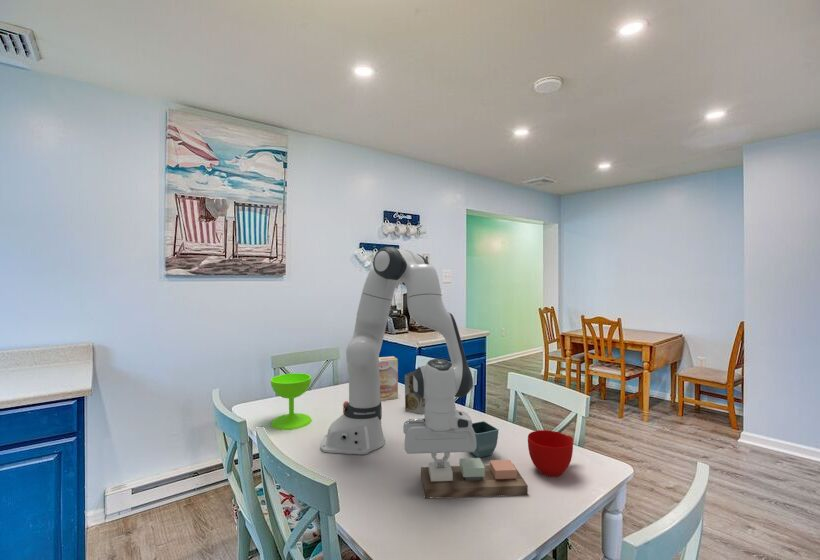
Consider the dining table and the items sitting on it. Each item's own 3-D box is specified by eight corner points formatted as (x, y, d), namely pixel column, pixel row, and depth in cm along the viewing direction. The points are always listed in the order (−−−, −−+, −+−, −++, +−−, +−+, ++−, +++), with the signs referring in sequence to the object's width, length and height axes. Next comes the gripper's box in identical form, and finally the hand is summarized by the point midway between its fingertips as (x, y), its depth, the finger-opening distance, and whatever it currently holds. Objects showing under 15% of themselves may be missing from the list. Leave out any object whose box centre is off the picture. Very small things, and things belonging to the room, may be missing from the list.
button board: (424, 498, 106) (424, 489, 106) (421, 475, 118) (421, 467, 117) (527, 494, 107) (527, 485, 107) (513, 472, 119) (513, 464, 119)
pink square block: (495, 488, 110) (495, 470, 110) (489, 477, 116) (489, 460, 116) (516, 487, 110) (516, 469, 110) (510, 476, 116) (510, 459, 116)
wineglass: (291, 432, 150) (291, 385, 150) (262, 425, 157) (261, 380, 157) (320, 419, 164) (319, 375, 164) (291, 412, 172) (291, 371, 171)
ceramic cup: (590, 471, 120) (590, 438, 120) (554, 487, 111) (554, 451, 111) (554, 454, 131) (554, 424, 131) (518, 468, 122) (518, 435, 122)
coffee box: (429, 410, 174) (429, 373, 174) (422, 414, 168) (422, 377, 168) (412, 406, 179) (412, 371, 179) (404, 410, 173) (404, 374, 173)
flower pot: (462, 450, 134) (462, 424, 134) (484, 446, 137) (484, 420, 137) (476, 462, 126) (476, 434, 126) (499, 456, 129) (499, 429, 129)
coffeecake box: (368, 402, 185) (368, 361, 184) (364, 398, 191) (364, 358, 191) (398, 398, 190) (398, 358, 190) (393, 394, 197) (393, 355, 196)
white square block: (431, 490, 109) (430, 472, 109) (428, 479, 115) (428, 462, 115) (452, 489, 109) (452, 472, 109) (449, 478, 115) (449, 461, 115)
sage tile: (463, 486, 109) (463, 468, 109) (459, 475, 115) (459, 458, 115) (484, 485, 109) (484, 467, 109) (479, 474, 115) (479, 457, 115)
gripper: (403, 423, 108) (404, 473, 108) (477, 421, 109) (477, 471, 109) (402, 415, 114) (403, 462, 114) (472, 413, 115) (473, 460, 115)
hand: (440, 466), depth 112 cm, fingers closed
